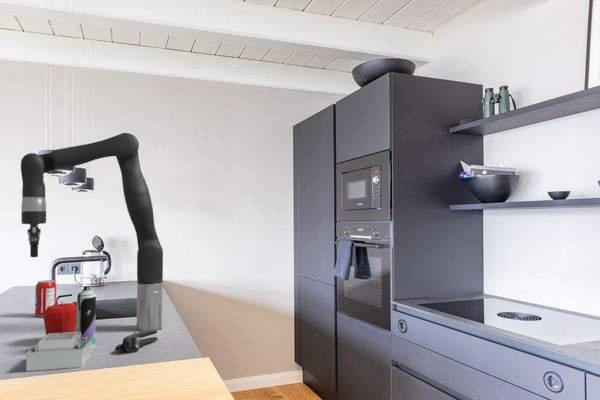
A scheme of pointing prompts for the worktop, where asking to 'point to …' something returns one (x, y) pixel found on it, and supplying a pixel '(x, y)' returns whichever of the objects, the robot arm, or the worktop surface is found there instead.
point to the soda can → (44, 296)
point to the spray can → (86, 314)
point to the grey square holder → (59, 352)
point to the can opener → (136, 341)
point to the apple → (60, 318)
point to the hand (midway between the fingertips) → (34, 256)
